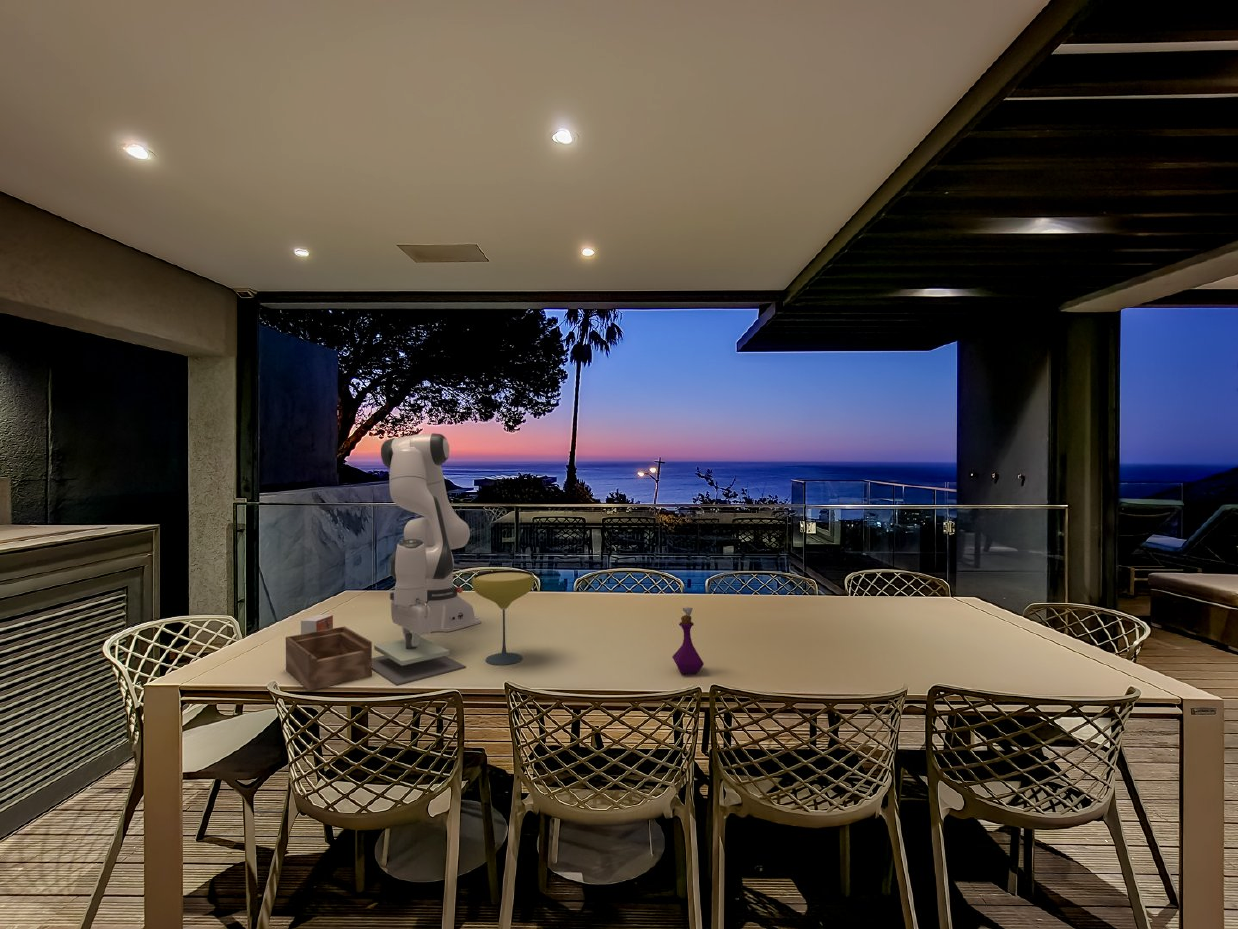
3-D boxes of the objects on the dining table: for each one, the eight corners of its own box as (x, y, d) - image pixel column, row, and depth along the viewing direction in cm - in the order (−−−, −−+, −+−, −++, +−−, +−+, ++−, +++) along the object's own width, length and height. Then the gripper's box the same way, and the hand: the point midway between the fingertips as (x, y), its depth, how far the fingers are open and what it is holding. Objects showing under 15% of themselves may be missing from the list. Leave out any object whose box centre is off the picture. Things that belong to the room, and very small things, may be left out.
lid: (419, 640, 186) (419, 623, 186) (449, 654, 171) (449, 636, 171) (374, 649, 177) (374, 631, 177) (401, 665, 162) (401, 646, 162)
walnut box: (344, 657, 181) (344, 626, 181) (371, 676, 165) (371, 641, 165) (285, 670, 171) (285, 637, 171) (308, 691, 154) (308, 654, 154)
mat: (425, 647, 190) (425, 646, 190) (465, 667, 171) (465, 666, 171) (361, 662, 177) (361, 660, 177) (396, 685, 158) (396, 683, 158)
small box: (316, 655, 184) (316, 621, 184) (300, 654, 185) (300, 620, 185) (333, 647, 192) (333, 614, 192) (318, 646, 193) (318, 614, 193)
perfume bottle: (672, 668, 170) (671, 604, 170) (698, 667, 170) (697, 603, 170) (676, 677, 162) (676, 610, 162) (704, 676, 163) (703, 609, 163)
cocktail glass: (485, 674, 166) (484, 583, 166) (464, 656, 181) (464, 573, 181) (544, 662, 176) (544, 576, 176) (520, 646, 191) (520, 568, 191)
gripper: (437, 600, 168) (437, 649, 168) (407, 589, 183) (407, 635, 183) (415, 603, 164) (415, 654, 164) (386, 592, 179) (387, 639, 179)
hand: (411, 644), depth 174 cm, fingers closed on lid, 3 cm apart
